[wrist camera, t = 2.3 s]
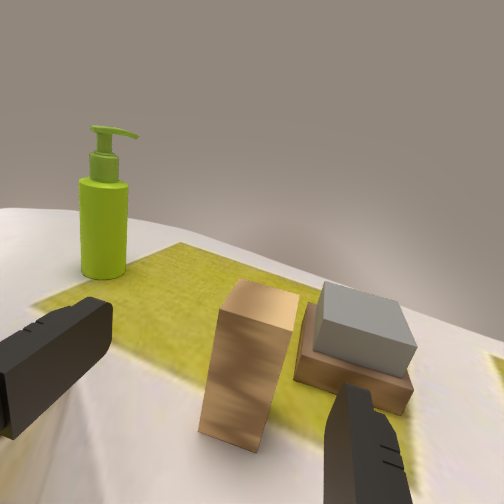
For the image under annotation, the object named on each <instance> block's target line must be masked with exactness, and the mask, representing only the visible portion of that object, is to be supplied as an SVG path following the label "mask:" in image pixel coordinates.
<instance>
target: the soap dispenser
mask: <svg viewBox="0 0 504 504" xmlns="http://www.w3.org/2000/svg"><path fill="white" fill-rule="evenodd" d="M91 131H92V132H95V133H97V150H96V151H94V152H91V153H90V154H89V157H90V158H89V159H90V160H89V161H90V177H86V178H82V179H80V180H79V206H80V239H81V271H82V273H83V275H85V276H86V277H89V278H92V279H98V280H107V279H113V278H117V277H119V276H121V275H123V274H124V273H125V271H126V246H127V215H128V184H127V183H125V182H123V181H120V180H118V177H119V157H118V156H116V155H115V154H114V153H112V134H118V135H125V136H129V137H132V138H134V139H137V138H138V137H139V136H138V135H135V134H133V133H131V132H128V131H126V130H123V129H119V128H114V127H107V126H91Z"/></svg>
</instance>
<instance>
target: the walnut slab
mask: <svg viewBox="0 0 504 504" xmlns="http://www.w3.org/2000/svg"><path fill="white" fill-rule="evenodd" d="M316 307H317V304H313V303H310V302H308V305H307V308H306V311H305V314H304V318H303V321H302V325H301V332H300V339H299V345H298V352H297V359H296V365H295V372H294V378H293V380H294V381H297V382H300V383H303V384H306V385H309V386H312V387H315V388H318V389H321V390H324V391H327V392H330V393H333V394H336V395H337V394H338V392H339V390H340V387H341V385H342V383H343V382H346V383H349V384H352V385H355V386H358V387H361V388H364V389H367V390H369V391H370V393H371V398H372V404H373V407H375V408H378V409H381V410H384V411H387V412H390V413H393V414H396V415H399V416H401V414H402V412H403V410H404V408H405V407H406V405H407V403H408V401H409V399H410V397H411V395H412V394H413V392H414V389H413V386H412V383H411V380H410V377H409V375H408V372H407V369H406V371H405V373H404V375H403V377H402V379H400V378H397V377H394V376H391V375H388V374H385V373H382V372H378V371H375V370H372V369H369V368H366V367H363V366H360V365H357V364H353V363H350V362H347V361H344V360H341V359H338V358H335V357H331V356H328V355H325V354H322V353H319V352H316V351H313V340H314V328H315V316H316Z"/></svg>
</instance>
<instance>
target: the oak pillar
mask: <svg viewBox="0 0 504 504" xmlns="http://www.w3.org/2000/svg"><path fill="white" fill-rule="evenodd" d="M299 296H300V295H297V294H294V293H290V292H287V291H284V290H280V289H277V288H273V287H270V286H266V285H263V284H259V283H256V282H252V281H249V280H245V279H242V278H240V279H239V280H238V282H237V283H236V285H235V286H234V288H233V289H232V291H231V292H230V294H229V295H228V297H227V298H226V300H225V301H224V303H223V304H222V306H221V307H220V309H219V315H218V320H217V326H216V332H215V337H214V343H213V349H212V354H211V360H210V366H209V371H208V377H207V383H206V388H205V394H204V400H203V405H202V411H201V417H200V422H199V428H198V432H201V433H204V434H206V435H209V436H212V437H214V438H217V439H220V440H222V441H225V442H227V443H230V444H233V445H235V446H238V447H241V448H243V449H246V450H249V451H251V452H254V453H257V450H258V446H259V443H260V440H261V436H262V433H263V430H264V426H265V423H266V419H267V416H268V413H269V409H270V406H271V403H272V399H273V396H274V393H275V389H276V386H277V382H278V379H279V376H280V372H281V369H282V366H283V362H284V359H285V356H286V352H287V349H288V345H289V342H290V339H291V335H292V332H293V327H294V322H295V317H296V312H297V306H298V301H299Z"/></svg>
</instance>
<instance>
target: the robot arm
mask: <svg viewBox="0 0 504 504" xmlns="http://www.w3.org/2000/svg"><path fill="white" fill-rule="evenodd" d="M112 318H113V307H112V304H111V303H108V302H105V301H102V300H99V299H96V298H93V297H86V298H84V299H83V300H81V301H80V302H78V303H76V304H75V305H73V306H72V307H71V306H67V307H64V308H61V309H58V310H54V311H51V312H50V313H48V314H46V315H45V316H43V317H41V318H39V319H38V320H36V322H35V323H31V324H29V325H28V326H26V327H24V328H23V330H22V331H21V330H19V331H18V332H16V333H14V334H13V335H11V336H9V337H8V338H6V339H4V340H3V341H1V342H0V435H2V436H5V437H7V438H9V439H12V440H15V439H16V438H17V437H18V436H19V435H20V434H21V433H22V432H23V431H24V430H25V429H26V428H27V427H28V426H30V425H31V424H32V423H33V422H34V421H35V420H36V419H37V418H38V417H39V416H40V415H41V414H42V413H43V412H44V411H46V410H47V409H48V408H49V407H50V406H51V405H52V404H53V403H54V402H55V401H56V400H57V399H58V398H59V397H61V396H62V395H63V394H64V393H65V392H66V391H67V390H68V389H69V388H70V387H71V386H72V385H73V384H74V383H76V382H77V381H78V380H79V379H80V378H81V377H82V376H83V375H84V374H85V373H86V372H87V371H88V370H89V369H90V368H92V367H93V366H94V365H95V364H96V363H97V362H98V361H99V360H100V359H101V358H102V357H103V356H104V355H105V354H106V352H107V351H108V349H109V347H110V344H111V340H112ZM324 504H413V503H412V498H411V494H410V490H409V486H408V482H407V478H406V473H405V472H404V465H403V461H402V457H401V455H400V448H399V444H398V440H397V436H396V432H395V431H394V429H393V428H392V426H391V424H390V423H389V421H388V419H387V418H386V416H385V415H384V414H381V413H379V412H376V411H374V409H373V404H372V398H371V393H370V391H369V390H367V389H364V388H361V387H358V386H355V385H352V384H349V383H346V382H343V383H342V385H341V387H340V390H339V392H338V394H337V397H336V399H335V402H334V404H333V406H332V409H331V411H330V414H329V416H328V419H327V423H326V427H325V434H324Z"/></svg>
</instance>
